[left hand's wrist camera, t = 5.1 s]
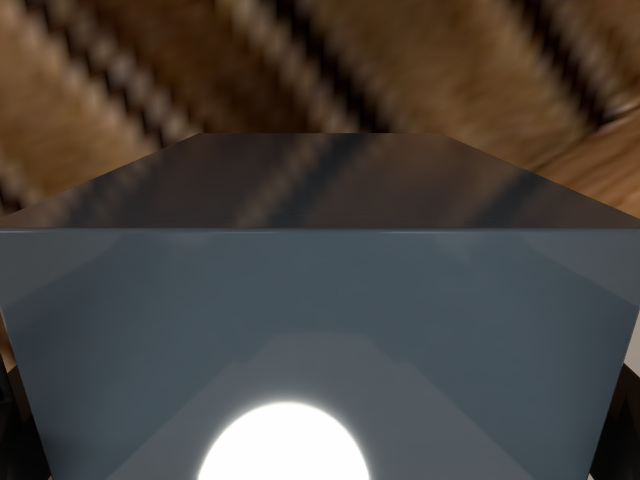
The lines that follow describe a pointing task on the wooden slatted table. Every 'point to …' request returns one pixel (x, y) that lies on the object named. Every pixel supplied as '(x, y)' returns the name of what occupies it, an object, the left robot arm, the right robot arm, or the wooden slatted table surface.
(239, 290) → the block
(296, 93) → the wooden slatted table surface
